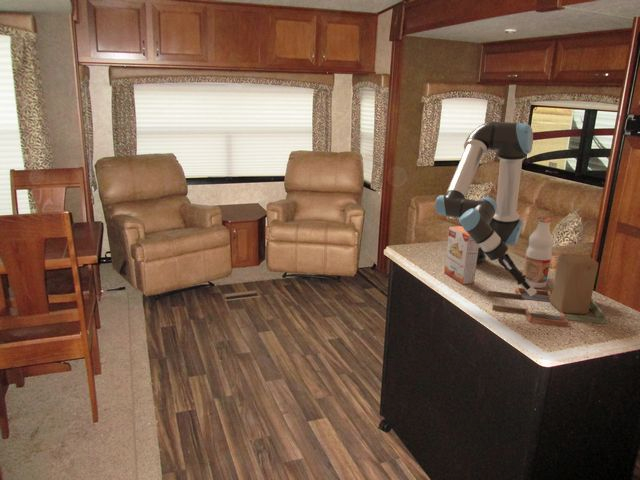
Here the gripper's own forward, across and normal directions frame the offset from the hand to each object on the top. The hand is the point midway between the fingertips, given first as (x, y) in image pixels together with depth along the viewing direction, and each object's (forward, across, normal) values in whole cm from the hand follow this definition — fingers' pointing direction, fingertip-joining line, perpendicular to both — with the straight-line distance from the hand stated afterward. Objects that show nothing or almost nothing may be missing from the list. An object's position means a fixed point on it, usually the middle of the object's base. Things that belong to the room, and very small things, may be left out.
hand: (533, 293), depth 181 cm
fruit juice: (+8, -24, 0) cm, 26 cm away
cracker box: (-13, -22, -21) cm, 33 cm away
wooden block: (+13, -1, +6) cm, 14 cm away
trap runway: (+6, 0, -1) cm, 6 cm away
